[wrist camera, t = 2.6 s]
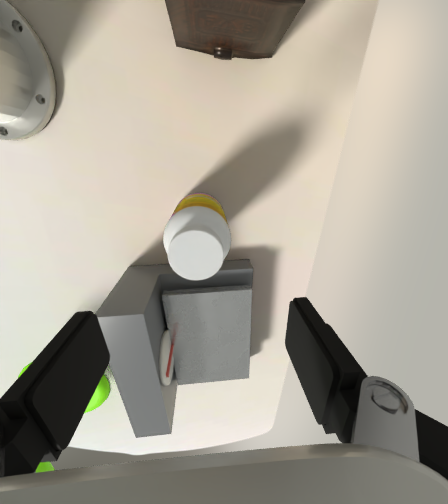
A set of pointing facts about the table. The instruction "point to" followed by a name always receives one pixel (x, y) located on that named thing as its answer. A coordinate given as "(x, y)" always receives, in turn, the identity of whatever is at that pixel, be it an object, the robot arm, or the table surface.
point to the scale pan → (209, 332)
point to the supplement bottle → (197, 237)
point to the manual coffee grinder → (231, 25)
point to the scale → (151, 339)
